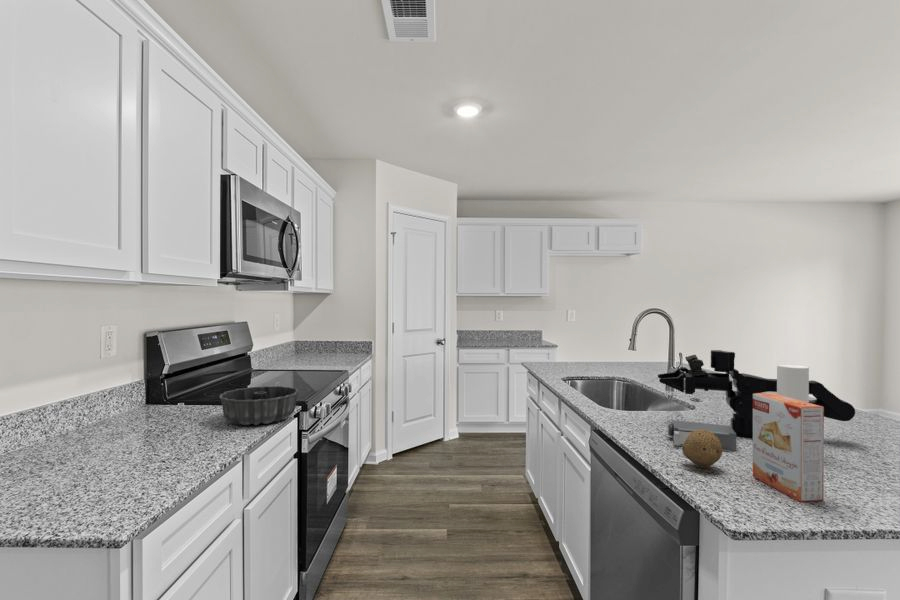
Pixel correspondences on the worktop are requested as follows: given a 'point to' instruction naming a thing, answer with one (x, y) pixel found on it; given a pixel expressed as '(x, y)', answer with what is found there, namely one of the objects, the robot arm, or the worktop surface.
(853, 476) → the worktop surface
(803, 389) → the cylindrical container
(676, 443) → the side cover
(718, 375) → the robot arm
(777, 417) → the cracker box
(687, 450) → the potato
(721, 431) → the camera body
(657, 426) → the worktop surface
